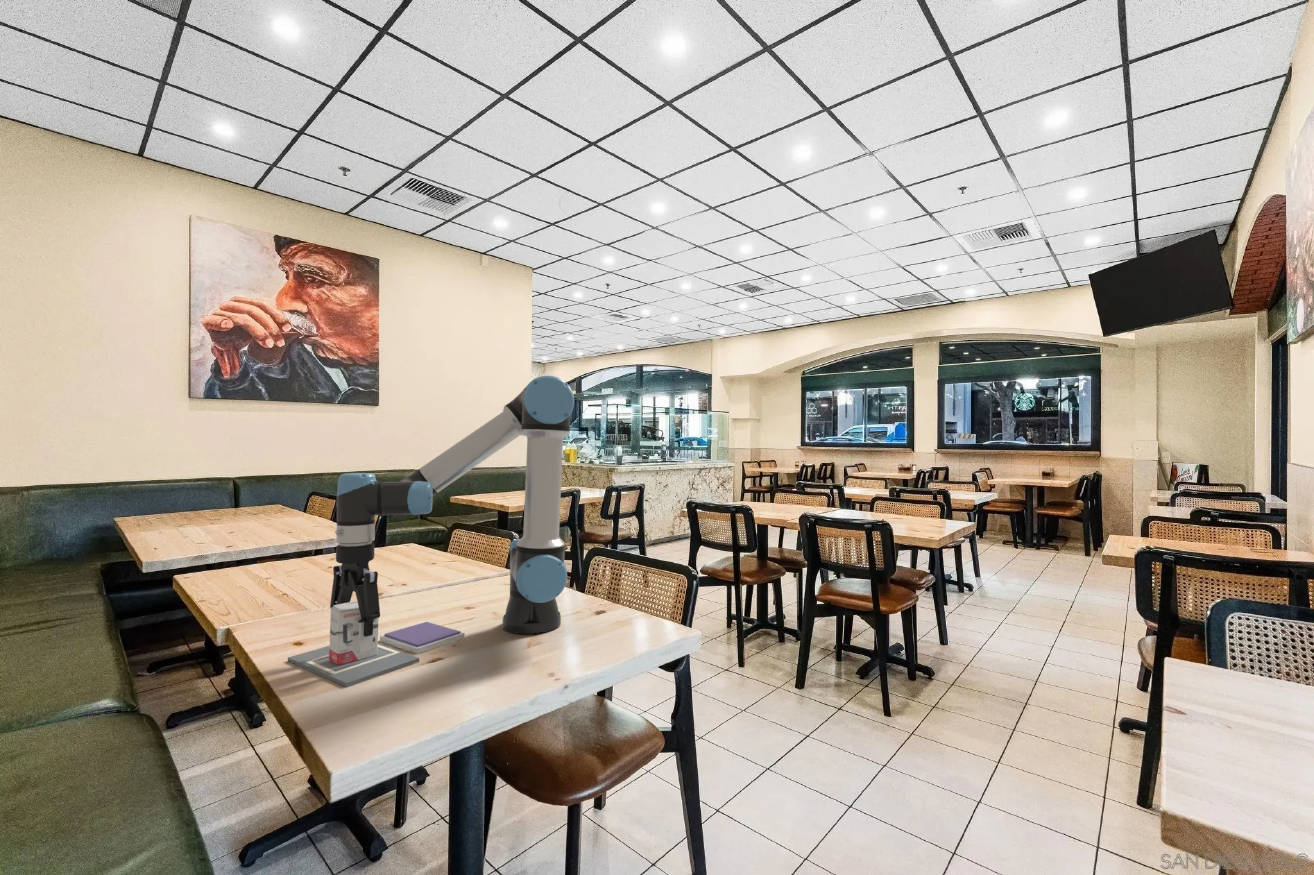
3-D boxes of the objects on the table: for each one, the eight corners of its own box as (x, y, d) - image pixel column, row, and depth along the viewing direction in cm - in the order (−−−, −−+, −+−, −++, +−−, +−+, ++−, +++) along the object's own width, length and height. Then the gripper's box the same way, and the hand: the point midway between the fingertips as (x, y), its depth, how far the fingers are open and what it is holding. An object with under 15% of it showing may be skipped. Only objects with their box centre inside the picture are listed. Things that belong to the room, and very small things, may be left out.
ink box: (337, 666, 120) (338, 610, 120) (328, 660, 123) (329, 605, 123) (379, 655, 126) (380, 601, 126) (369, 649, 129) (370, 597, 130)
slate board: (419, 661, 125) (419, 656, 125) (346, 687, 111) (346, 682, 111) (359, 640, 138) (359, 636, 138) (287, 661, 124) (287, 656, 124)
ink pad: (464, 637, 140) (464, 631, 140) (417, 653, 129) (417, 646, 129) (427, 627, 148) (427, 620, 148) (379, 641, 137) (379, 634, 137)
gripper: (313, 540, 128) (311, 641, 127) (365, 550, 116) (364, 661, 116) (346, 536, 134) (345, 632, 134) (399, 545, 122) (398, 650, 122)
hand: (353, 646), depth 125 cm, fingers open, 8 cm apart
